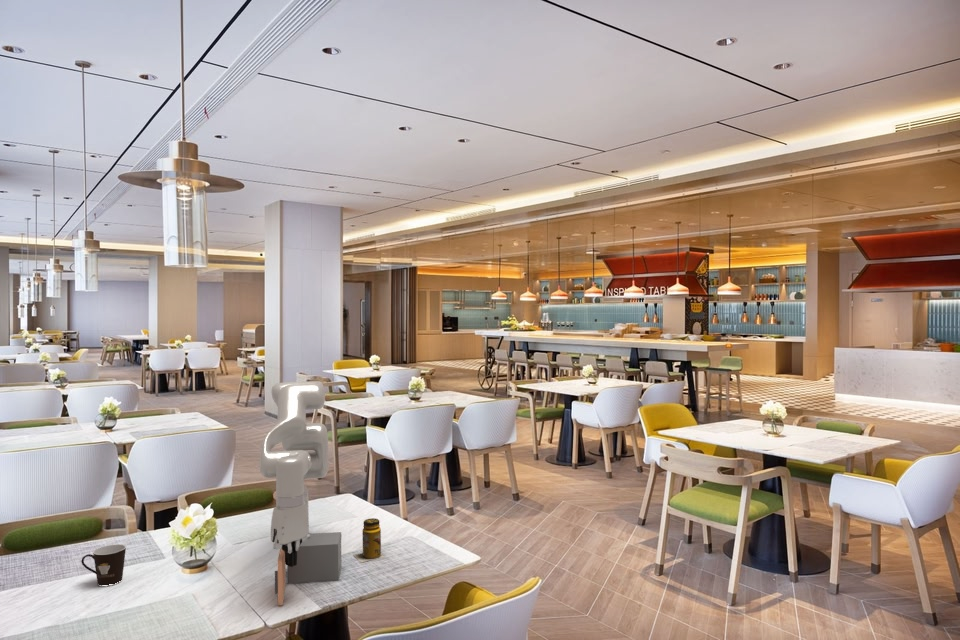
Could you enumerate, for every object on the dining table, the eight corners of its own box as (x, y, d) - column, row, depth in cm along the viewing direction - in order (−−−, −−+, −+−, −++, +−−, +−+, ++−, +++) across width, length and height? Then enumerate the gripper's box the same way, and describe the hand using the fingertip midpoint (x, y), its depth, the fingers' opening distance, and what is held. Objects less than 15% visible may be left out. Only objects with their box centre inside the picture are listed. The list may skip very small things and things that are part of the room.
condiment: (385, 557, 206) (385, 521, 206) (361, 563, 201) (361, 526, 202) (376, 550, 212) (376, 515, 212) (353, 556, 208) (352, 520, 208)
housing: (293, 569, 197) (293, 532, 197) (341, 566, 199) (341, 529, 199) (287, 583, 186) (287, 544, 186) (338, 580, 188) (337, 541, 188)
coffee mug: (132, 578, 191) (132, 546, 191) (108, 589, 183) (107, 556, 183) (104, 573, 195) (104, 542, 195) (79, 584, 187) (78, 551, 187)
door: (285, 582, 186) (285, 542, 186) (282, 604, 171) (282, 561, 171) (278, 583, 185) (278, 543, 185) (275, 605, 170) (274, 562, 170)
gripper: (303, 492, 183) (304, 553, 184) (259, 504, 171) (260, 570, 172) (320, 496, 179) (320, 559, 179) (275, 509, 167) (276, 577, 167)
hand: (291, 564), depth 175 cm, fingers closed
